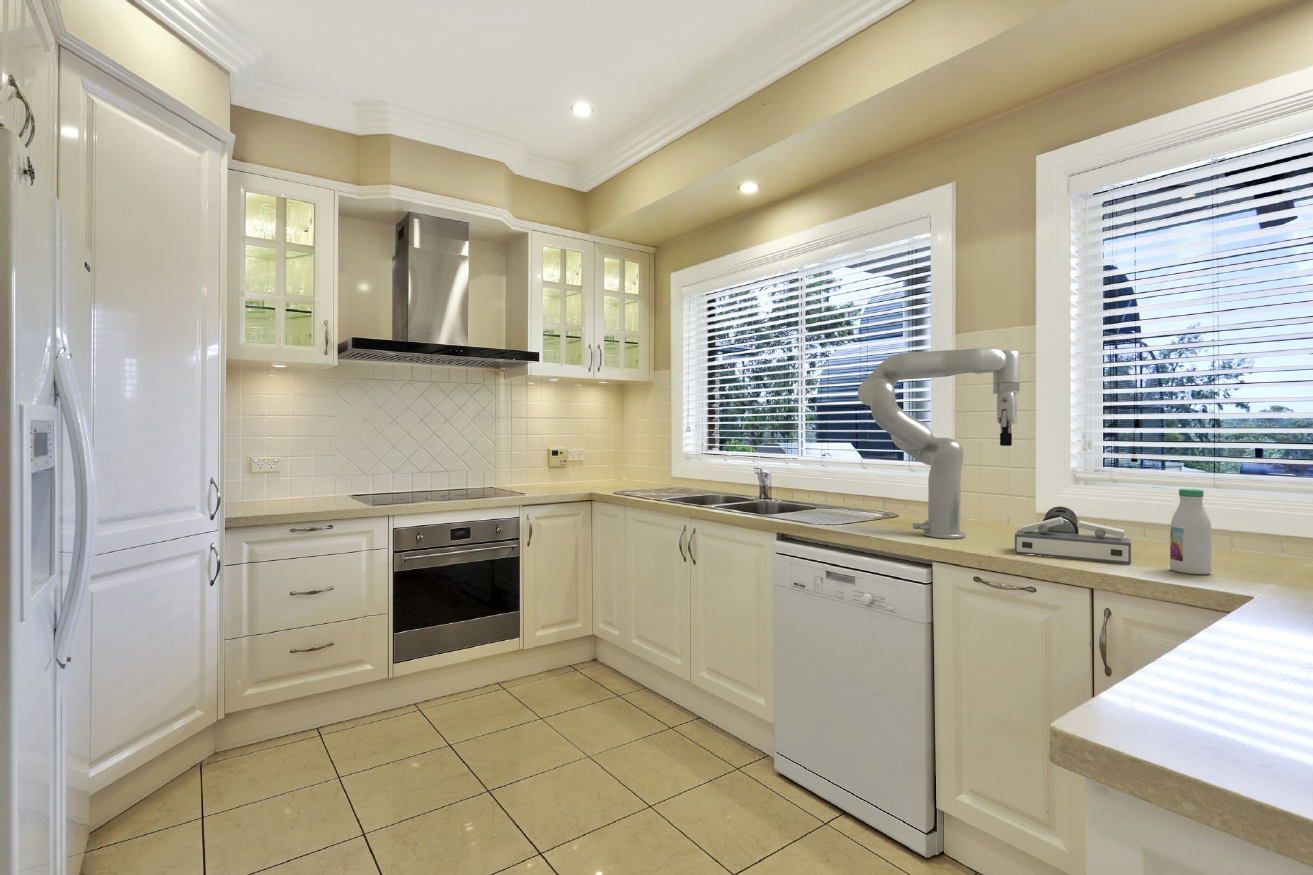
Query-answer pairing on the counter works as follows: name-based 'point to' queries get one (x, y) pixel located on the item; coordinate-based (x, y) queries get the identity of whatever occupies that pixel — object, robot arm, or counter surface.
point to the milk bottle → (1190, 535)
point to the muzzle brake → (1068, 517)
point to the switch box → (1074, 546)
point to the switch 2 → (1101, 529)
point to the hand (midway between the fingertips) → (1005, 445)
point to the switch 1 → (1042, 525)
